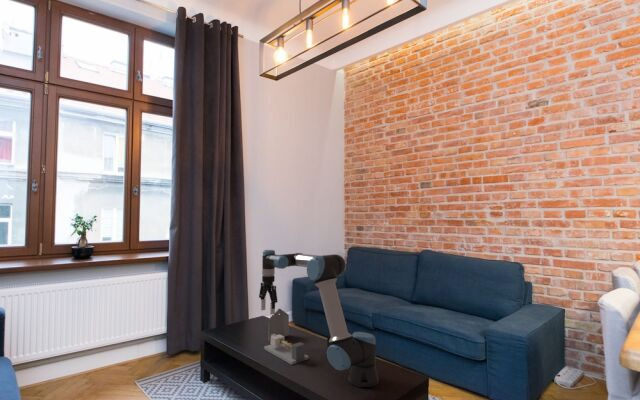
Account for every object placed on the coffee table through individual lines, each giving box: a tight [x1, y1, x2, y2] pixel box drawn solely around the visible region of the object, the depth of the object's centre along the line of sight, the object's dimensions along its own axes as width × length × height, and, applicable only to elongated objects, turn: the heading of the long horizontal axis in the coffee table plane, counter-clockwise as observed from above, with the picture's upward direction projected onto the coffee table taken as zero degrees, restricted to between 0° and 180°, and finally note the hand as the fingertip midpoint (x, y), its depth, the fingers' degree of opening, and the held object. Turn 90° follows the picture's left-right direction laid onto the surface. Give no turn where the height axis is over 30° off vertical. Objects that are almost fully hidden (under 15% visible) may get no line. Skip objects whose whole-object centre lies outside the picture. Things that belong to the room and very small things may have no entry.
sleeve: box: [270, 334, 286, 347], centre depth 214 cm, size 5×7×4 cm
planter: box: [267, 308, 290, 342], centre depth 237 cm, size 16×8×19 cm, turn 134°
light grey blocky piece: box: [263, 334, 310, 366], centre depth 209 cm, size 28×12×9 cm, turn 41°
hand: (267, 311), depth 218 cm, fingers open, 10 cm apart
